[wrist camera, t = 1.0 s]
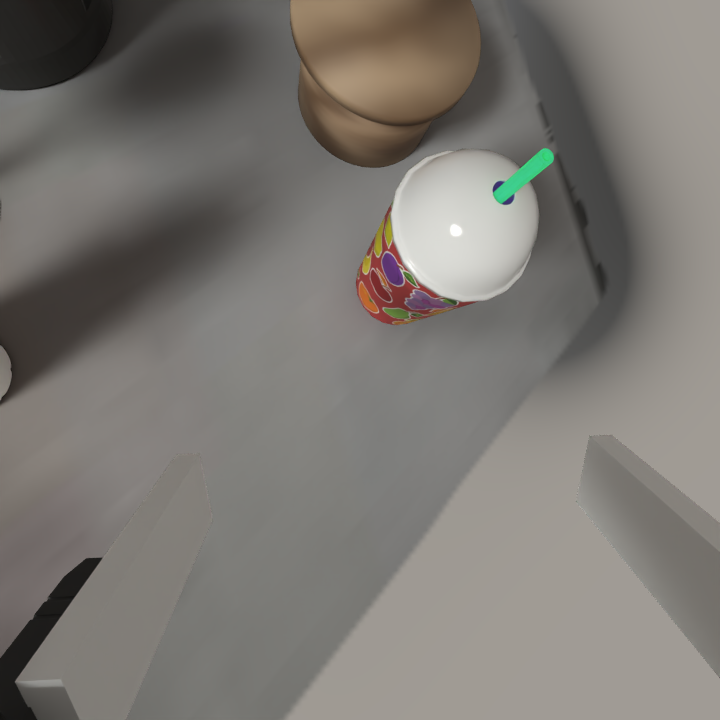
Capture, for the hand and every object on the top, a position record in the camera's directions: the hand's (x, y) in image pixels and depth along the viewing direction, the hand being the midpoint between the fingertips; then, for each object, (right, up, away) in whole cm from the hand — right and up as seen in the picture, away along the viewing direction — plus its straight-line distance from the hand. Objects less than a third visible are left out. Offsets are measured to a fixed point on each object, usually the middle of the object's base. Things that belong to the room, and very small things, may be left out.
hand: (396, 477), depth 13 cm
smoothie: (+1, +10, +21) cm, 24 cm away
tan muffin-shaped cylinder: (-1, +27, +22) cm, 35 cm away
